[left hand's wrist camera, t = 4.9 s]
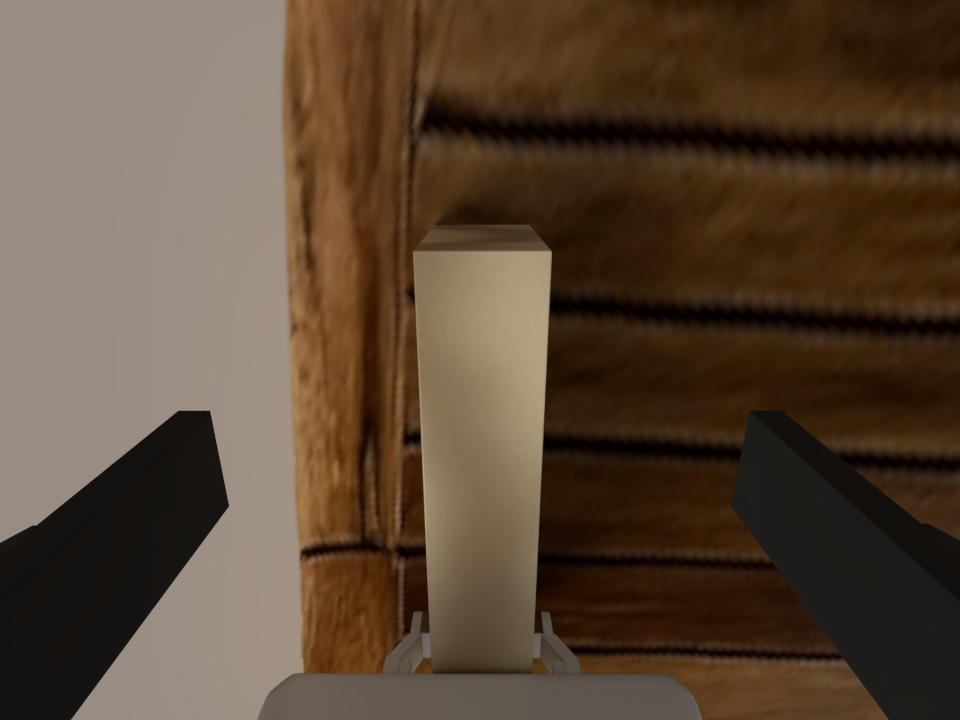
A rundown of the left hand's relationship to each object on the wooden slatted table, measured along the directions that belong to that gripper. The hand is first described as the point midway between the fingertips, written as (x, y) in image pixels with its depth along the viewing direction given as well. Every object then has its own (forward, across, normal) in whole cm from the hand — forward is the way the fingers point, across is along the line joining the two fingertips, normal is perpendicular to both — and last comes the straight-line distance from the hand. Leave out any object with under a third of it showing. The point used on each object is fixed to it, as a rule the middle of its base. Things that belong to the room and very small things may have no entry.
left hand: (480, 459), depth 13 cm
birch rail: (+17, 0, +9) cm, 19 cm away
